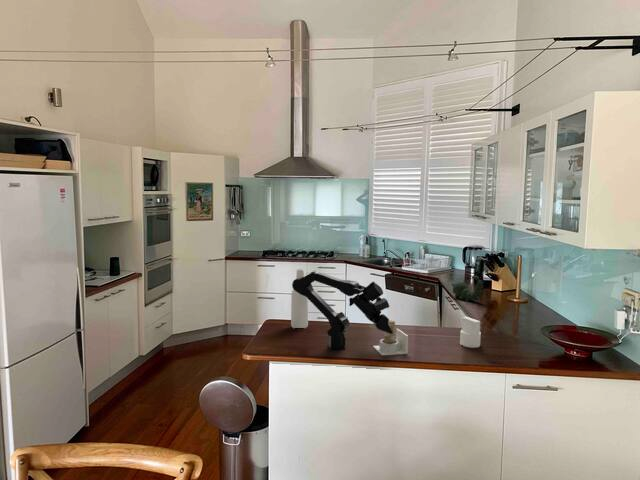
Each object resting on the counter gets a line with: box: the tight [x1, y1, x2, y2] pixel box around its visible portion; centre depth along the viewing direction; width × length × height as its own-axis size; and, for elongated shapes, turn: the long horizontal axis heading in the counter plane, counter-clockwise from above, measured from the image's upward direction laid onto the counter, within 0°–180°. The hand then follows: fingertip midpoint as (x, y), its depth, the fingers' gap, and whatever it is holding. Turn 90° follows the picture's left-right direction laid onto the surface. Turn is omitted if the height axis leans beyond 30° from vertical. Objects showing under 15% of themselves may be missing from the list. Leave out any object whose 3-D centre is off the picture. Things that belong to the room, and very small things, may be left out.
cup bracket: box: [372, 328, 409, 356], centre depth 200 cm, size 12×11×8 cm
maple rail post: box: [383, 319, 396, 344], centre depth 200 cm, size 4×4×12 cm
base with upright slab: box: [459, 316, 482, 349], centre depth 210 cm, size 9×9×12 cm
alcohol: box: [290, 268, 309, 329], centre depth 233 cm, size 9×9×30 cm
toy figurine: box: [450, 275, 485, 302], centre depth 304 cm, size 9×19×25 cm
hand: (388, 330), depth 199 cm, fingers open, 9 cm apart
